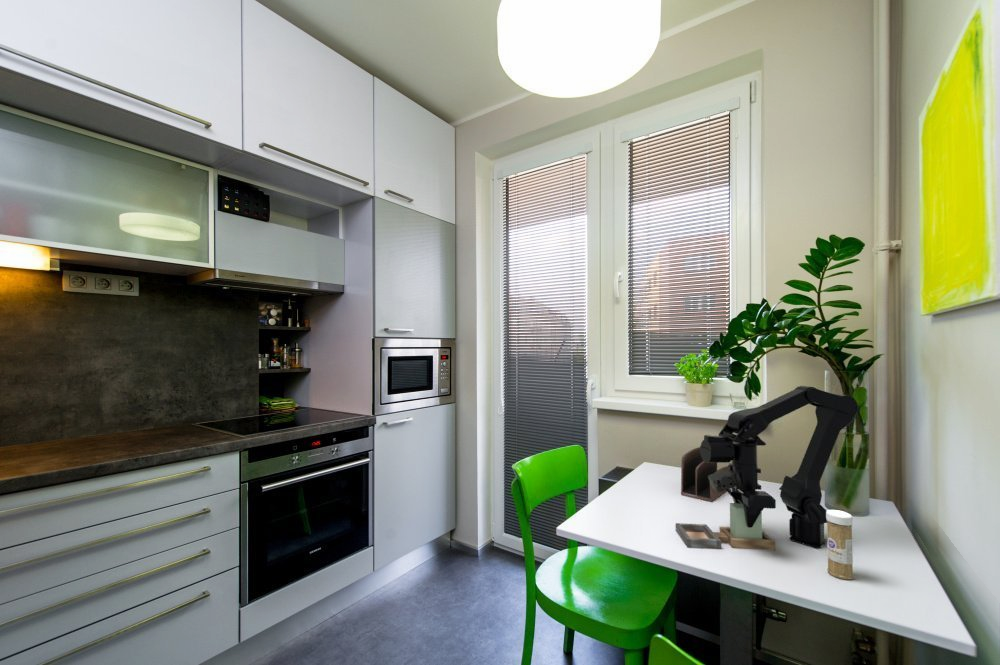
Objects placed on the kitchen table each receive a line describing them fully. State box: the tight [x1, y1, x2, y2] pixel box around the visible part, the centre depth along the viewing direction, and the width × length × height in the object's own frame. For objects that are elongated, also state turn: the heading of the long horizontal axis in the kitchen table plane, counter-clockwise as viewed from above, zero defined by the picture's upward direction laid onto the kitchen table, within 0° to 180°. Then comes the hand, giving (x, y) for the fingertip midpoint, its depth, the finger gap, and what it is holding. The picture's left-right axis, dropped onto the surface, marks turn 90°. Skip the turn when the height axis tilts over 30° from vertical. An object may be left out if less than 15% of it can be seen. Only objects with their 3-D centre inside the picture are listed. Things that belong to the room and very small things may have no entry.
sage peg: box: [729, 502, 763, 539], centre depth 111 cm, size 6×4×8 cm, turn 84°
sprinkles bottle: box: [826, 509, 854, 581], centre depth 94 cm, size 5×5×13 cm
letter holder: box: [680, 446, 728, 503], centre depth 149 cm, size 10×20×14 cm, turn 135°
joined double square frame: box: [675, 522, 776, 551], centre depth 111 cm, size 21×10×2 cm, turn 84°
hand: (745, 523), depth 111 cm, fingers closed on sage peg, 4 cm apart
